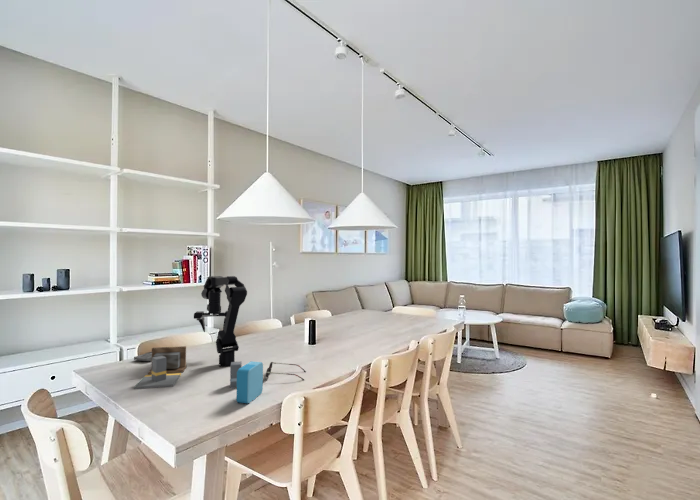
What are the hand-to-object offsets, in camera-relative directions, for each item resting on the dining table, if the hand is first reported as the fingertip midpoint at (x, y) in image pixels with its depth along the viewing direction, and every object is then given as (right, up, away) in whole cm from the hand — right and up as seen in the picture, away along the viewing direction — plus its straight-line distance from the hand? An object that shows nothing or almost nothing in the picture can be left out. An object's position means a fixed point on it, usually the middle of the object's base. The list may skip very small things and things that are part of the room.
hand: (214, 331), depth 187 cm
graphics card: (-30, -13, -2) cm, 33 cm away
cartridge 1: (-9, -12, -36) cm, 39 cm away
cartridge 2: (+23, -13, -40) cm, 48 cm away
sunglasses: (+42, -14, -28) cm, 52 cm away
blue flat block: (+32, -13, -52) cm, 63 cm away
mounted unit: (-12, -13, -22) cm, 29 cm away
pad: (-9, -13, -36) cm, 39 cm away
